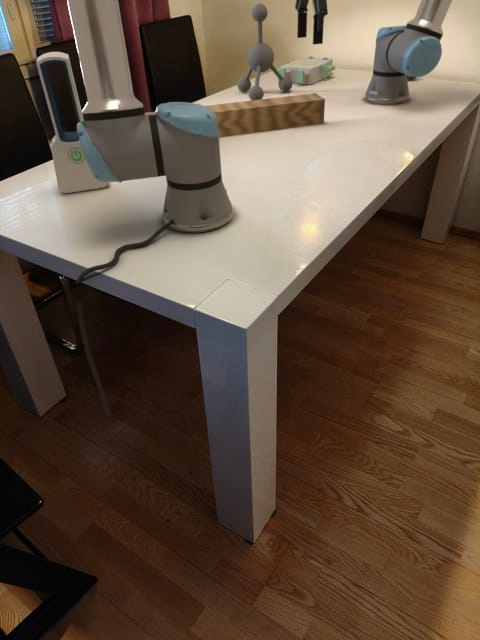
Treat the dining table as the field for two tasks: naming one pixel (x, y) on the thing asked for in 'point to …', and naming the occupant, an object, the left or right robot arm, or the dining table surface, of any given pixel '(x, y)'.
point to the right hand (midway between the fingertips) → (309, 40)
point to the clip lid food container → (307, 70)
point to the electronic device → (66, 133)
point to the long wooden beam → (268, 114)
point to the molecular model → (261, 61)
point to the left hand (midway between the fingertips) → (115, 59)
